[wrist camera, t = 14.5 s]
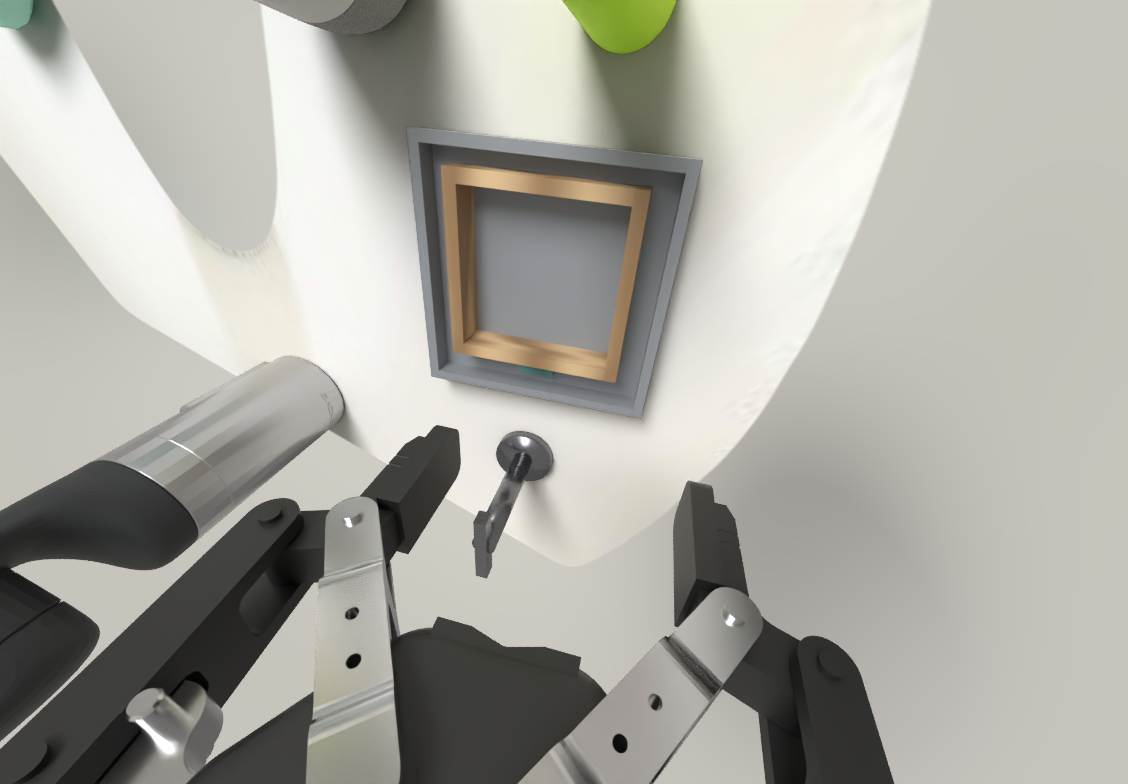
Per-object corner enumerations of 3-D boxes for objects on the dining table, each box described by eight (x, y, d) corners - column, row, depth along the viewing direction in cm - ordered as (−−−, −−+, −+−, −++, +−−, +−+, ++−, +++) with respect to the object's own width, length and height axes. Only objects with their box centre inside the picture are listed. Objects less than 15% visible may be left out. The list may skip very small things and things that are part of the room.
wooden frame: (468, 352, 38) (454, 367, 35) (459, 163, 29) (440, 165, 27) (616, 380, 36) (612, 398, 33) (652, 186, 28) (651, 191, 25)
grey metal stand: (499, 471, 46) (449, 568, 36) (499, 422, 42) (443, 514, 32) (550, 482, 45) (514, 585, 35) (555, 434, 41) (516, 533, 31)
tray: (443, 364, 40) (431, 376, 38) (424, 127, 29) (405, 126, 27) (642, 403, 37) (640, 418, 35) (700, 158, 27) (702, 160, 25)
